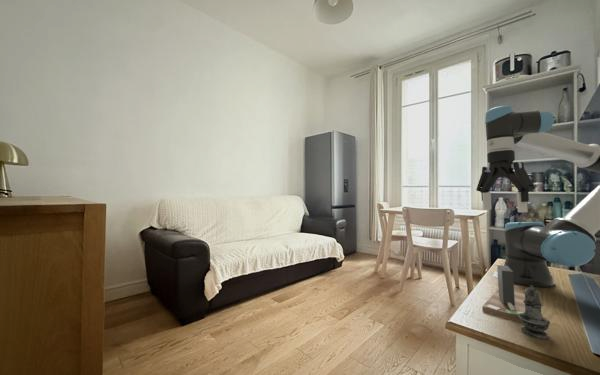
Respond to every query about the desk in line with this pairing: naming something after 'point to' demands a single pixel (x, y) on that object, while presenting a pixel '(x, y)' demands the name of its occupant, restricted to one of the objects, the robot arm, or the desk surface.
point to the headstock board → (505, 306)
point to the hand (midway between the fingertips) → (503, 211)
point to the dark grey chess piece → (533, 315)
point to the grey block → (506, 285)
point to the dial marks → (506, 310)
